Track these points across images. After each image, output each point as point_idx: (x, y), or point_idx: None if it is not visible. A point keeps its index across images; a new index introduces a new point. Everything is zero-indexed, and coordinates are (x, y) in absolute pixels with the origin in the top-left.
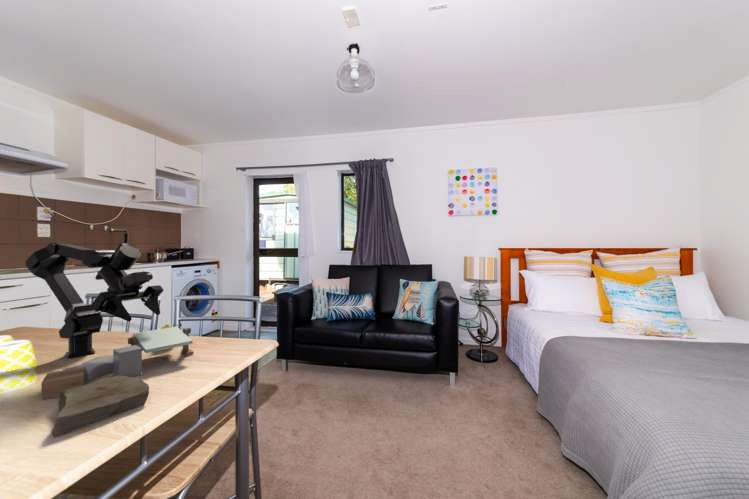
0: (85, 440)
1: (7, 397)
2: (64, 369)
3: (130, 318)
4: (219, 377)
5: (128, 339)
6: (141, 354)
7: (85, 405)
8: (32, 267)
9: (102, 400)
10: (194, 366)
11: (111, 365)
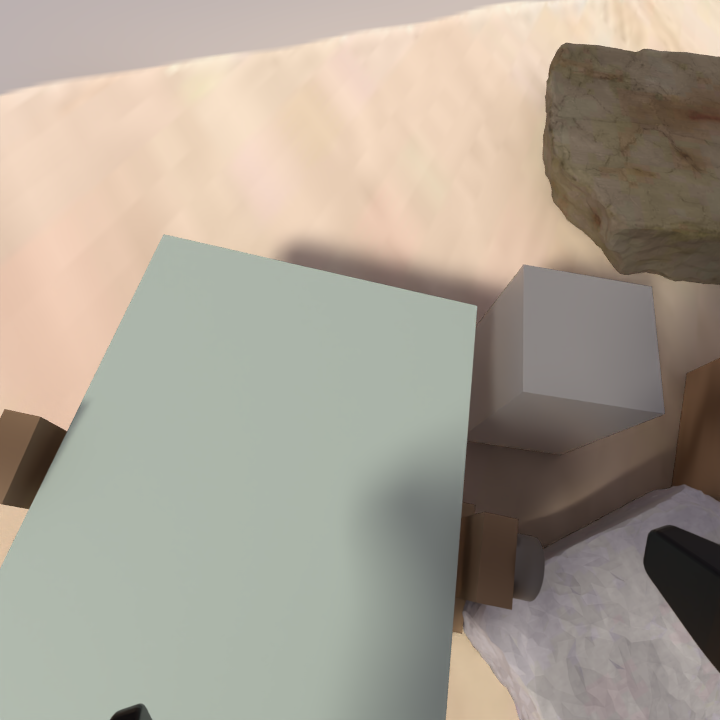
0: (699, 43)
1: None
2: None
3: (677, 530)
4: (282, 49)
5: (537, 571)
6: (508, 285)
7: None
8: None
9: (688, 84)
10: (247, 233)
11: (573, 541)
